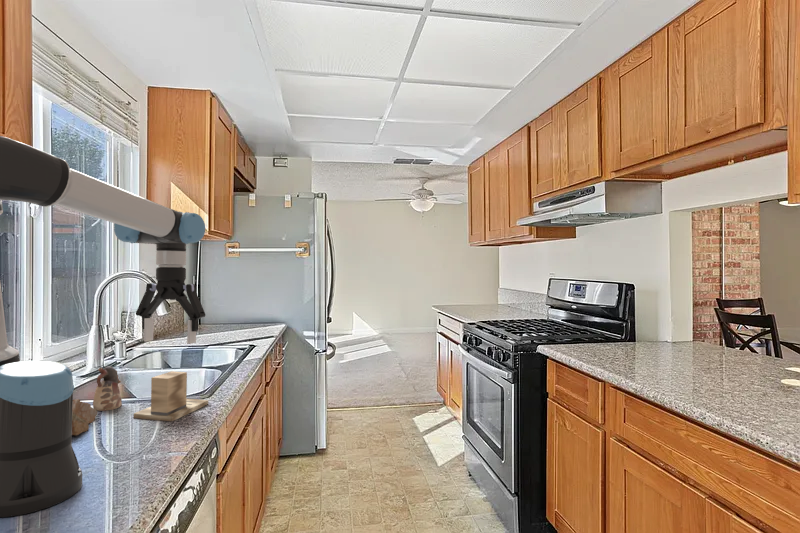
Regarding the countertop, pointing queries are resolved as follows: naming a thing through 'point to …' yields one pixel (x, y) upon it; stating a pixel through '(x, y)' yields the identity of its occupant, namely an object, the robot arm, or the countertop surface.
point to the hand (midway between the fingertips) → (169, 342)
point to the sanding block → (168, 393)
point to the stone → (82, 416)
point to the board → (190, 407)
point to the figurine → (107, 390)
